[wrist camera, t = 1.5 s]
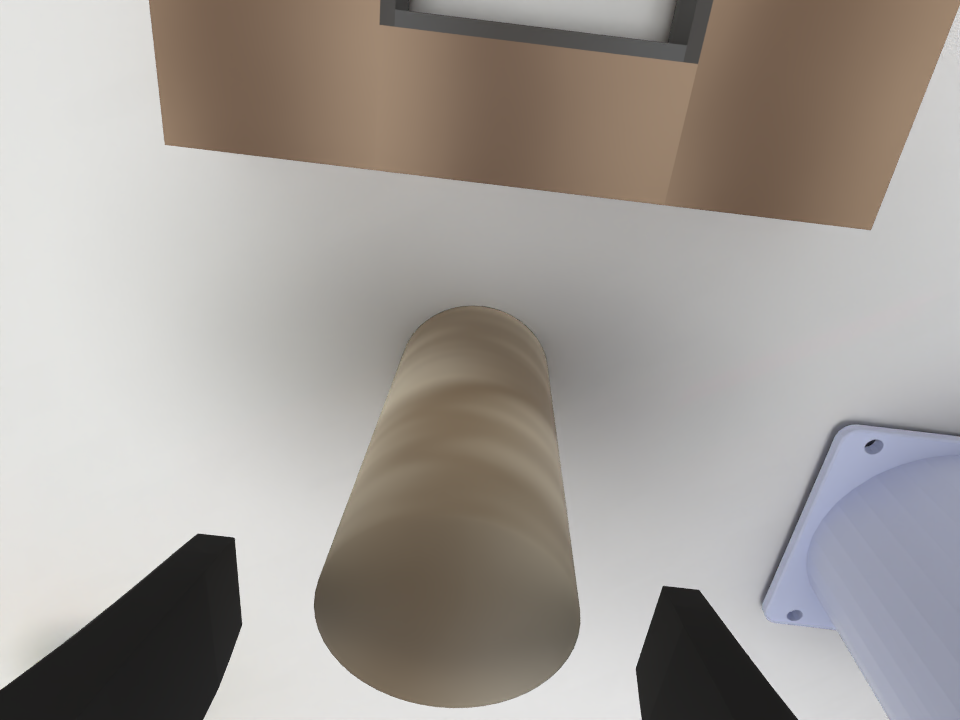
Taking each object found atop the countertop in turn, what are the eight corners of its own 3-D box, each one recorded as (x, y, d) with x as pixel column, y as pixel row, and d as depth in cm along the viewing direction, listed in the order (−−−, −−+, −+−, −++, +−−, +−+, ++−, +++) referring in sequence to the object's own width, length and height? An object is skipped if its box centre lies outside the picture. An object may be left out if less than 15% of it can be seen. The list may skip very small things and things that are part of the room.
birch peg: (559, 315, 17) (603, 533, 9) (536, 444, 19) (556, 720, 11) (405, 297, 17) (312, 499, 9) (397, 428, 19) (315, 692, 11)
